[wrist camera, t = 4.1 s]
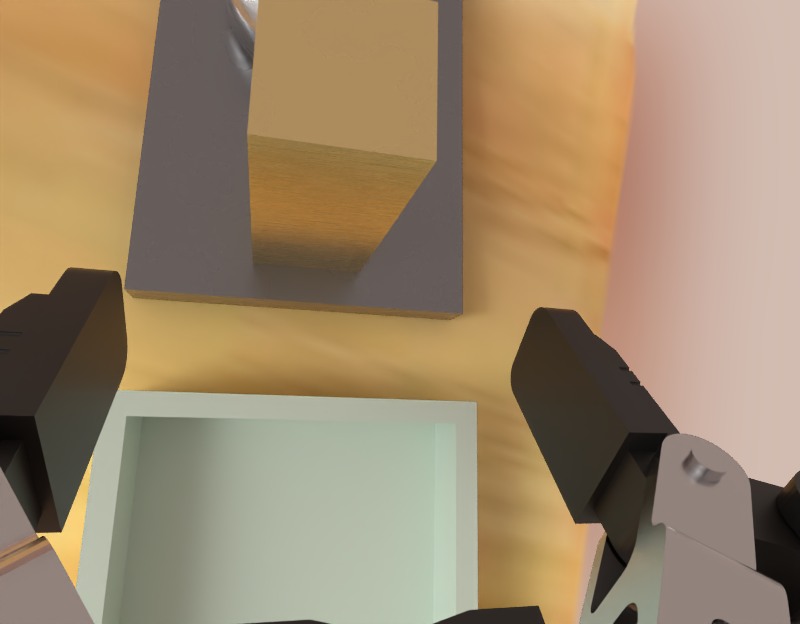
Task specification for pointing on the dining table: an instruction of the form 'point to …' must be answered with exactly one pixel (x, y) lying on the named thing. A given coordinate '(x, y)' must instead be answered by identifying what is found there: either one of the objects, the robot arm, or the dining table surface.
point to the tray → (281, 510)
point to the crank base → (230, 194)
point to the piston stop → (338, 125)
